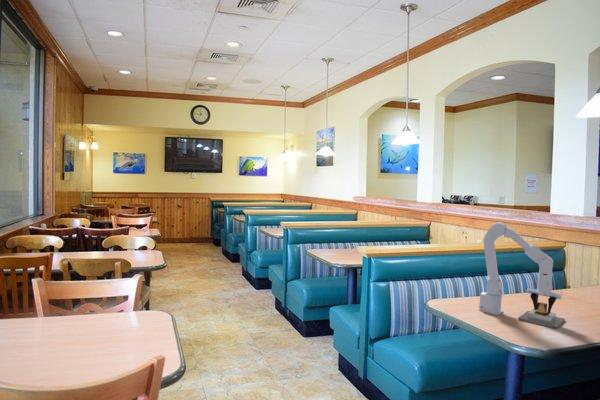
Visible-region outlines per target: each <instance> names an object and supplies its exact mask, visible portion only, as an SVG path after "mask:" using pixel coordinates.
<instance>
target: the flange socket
mask: <svg viewBox="0 0 600 400" xmlns="http://www.w3.org/2000/svg"><path fill="white" fill-rule="evenodd" d="M517 320H518V321H521V322H525V323H530V324H535V325H539V326H542V327H547V328H551V329H555V330H557V329H558V328H559V327H560V326H562V324H564V322H565V321H566V318H564V317H560V316H559V317H558V316H557V313H556V312H552V311H551V312H550V313H548V310H547V316H546V315H541V314H537V310H534V308H532V309H531V310H527V311H526V312H524V313H523V314H521V315H520V316H518V318H517Z"/></svg>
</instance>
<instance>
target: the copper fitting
mask: <svg viewBox="0 0 600 400" xmlns="http://www.w3.org/2000/svg"><path fill="white" fill-rule="evenodd" d="M547 311H548V303H546V302H540V301H538V303H537V314H541V315H546V316H547Z"/></svg>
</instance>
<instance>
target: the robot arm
mask: <svg viewBox="0 0 600 400" xmlns="http://www.w3.org/2000/svg"><path fill="white" fill-rule="evenodd" d="M503 235H504V236H503ZM502 236H503V238H509V239H511V240H512V241H514V242H515V243H516V244H517V245H519V247H521V248H523V250H524V255H526V256H527V257H528V258H530V259H531V260H532V261H533V262H534V263H535V264H536V263H537V264H538V267H539V268H538V269H539V271H538V273H537V274H538V275H537V284H536V289H535V288H526V290H525V291H526V294H530V299H531V301H532V304H533V309H534V310H537V304H538V302H539V301H538V300H539V296H543V297H547V298H548V301H547V302H548V303H547V311H548V313H550V312H552V308H553V305H554V304H555V303H556V301H557V300H562V299H563V298H562V297H563V295H562V294H559V293H556V292H553V291H552V285H553V283H552V281H553V268H554V260H553V258H552V257H551V256H549V255H548V254H547V253H546V252H545V253H544V251H542V250H541V249H540V247H539V246H538V245H535V244H530V243H529V242H528V241H527V240H525V239H524V238H523V237H522V236H521V235H520V234H518V233H517V232H516V230H515V229H513V228H512V227H510V226H509V225H507V224H506V223H505V222H503V221H498V222H496V223H493V224H492V225H491V226H490V227H489V228H488V230H487V232H486V233H485V235H484V237H483V241H482V242H483V249H484V257H485V265H486V273H487V279H486V281H487V282H486V283H487V284H486V286H485V290H486V291H485V292H484V291H482V292H480V295H479V306H478V307H479V308H478V311H479V312H483V313H488V314H492V315H497V316H499V315H501V314H502V313H504V310H501V308H502V300H503V299H502V297H503V294H502V292H501V290H503V289H502V288H503V282H502V281H501V278H500V275H499V271H498V263H497V253H496V244H495V242H496V241H497V239H499V238H500V237H502Z"/></svg>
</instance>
